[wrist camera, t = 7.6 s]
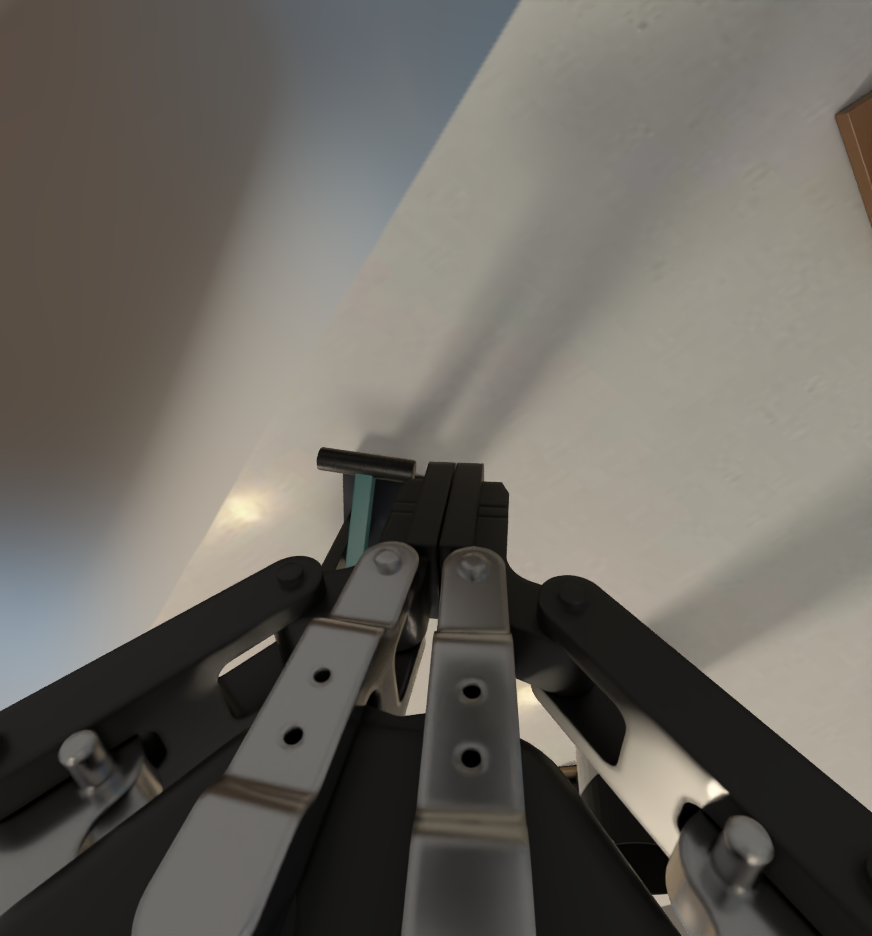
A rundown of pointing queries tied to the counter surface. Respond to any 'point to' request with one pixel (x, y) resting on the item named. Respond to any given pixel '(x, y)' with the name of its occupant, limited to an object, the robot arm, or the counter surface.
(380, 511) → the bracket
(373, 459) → the lever
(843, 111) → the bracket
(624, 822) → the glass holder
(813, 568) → the counter surface
